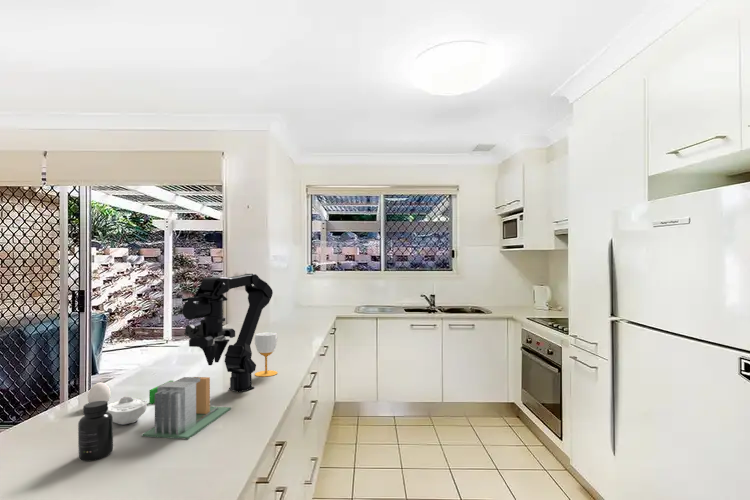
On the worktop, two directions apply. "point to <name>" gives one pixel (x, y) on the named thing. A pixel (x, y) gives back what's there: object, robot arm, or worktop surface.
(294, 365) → the worktop surface
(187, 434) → the board
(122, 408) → the cell model
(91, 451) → the supplement bottle
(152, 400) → the pipe clamp
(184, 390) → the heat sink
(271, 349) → the cup
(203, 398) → the orange block
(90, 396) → the egg
